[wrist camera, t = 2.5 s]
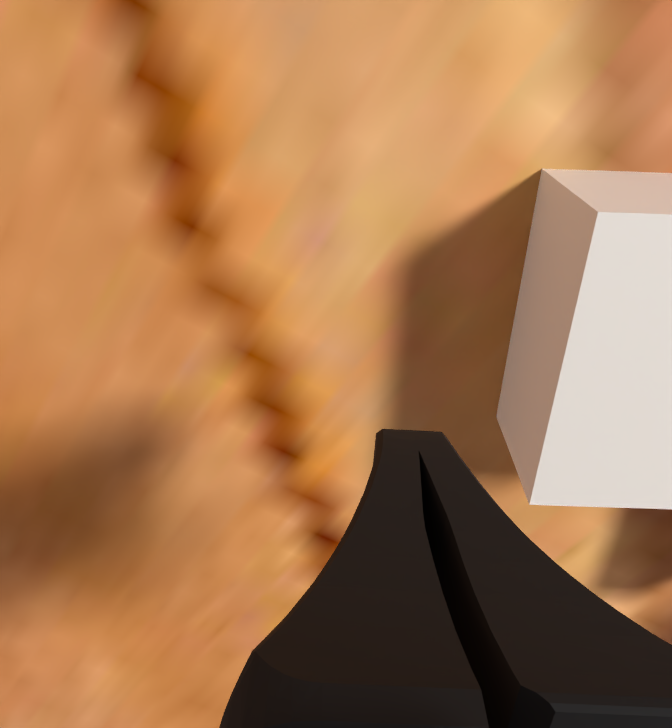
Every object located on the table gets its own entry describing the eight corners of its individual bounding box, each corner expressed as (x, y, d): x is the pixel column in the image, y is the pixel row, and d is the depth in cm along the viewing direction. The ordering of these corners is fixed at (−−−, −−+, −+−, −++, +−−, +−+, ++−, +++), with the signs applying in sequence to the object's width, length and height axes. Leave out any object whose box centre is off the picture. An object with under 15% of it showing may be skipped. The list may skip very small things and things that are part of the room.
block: (628, 418, 23) (692, 510, 19) (495, 413, 23) (529, 504, 19) (703, 173, 19) (809, 218, 15) (540, 167, 19) (598, 211, 15)
